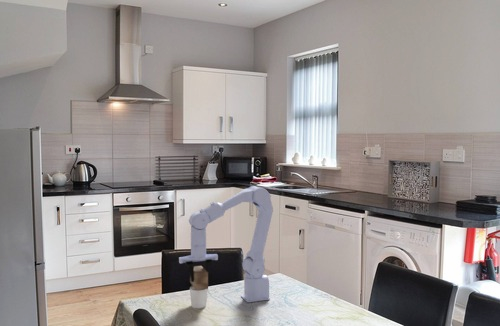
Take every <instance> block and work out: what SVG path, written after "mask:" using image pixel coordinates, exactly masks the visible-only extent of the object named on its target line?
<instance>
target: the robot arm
mask: <svg viewBox="0 0 500 326" xmlns="http://www.w3.org/2000/svg"><path fill="white" fill-rule="evenodd" d="M271 197H272V195H271V194H270V192H268V190H267V189H266V188H264V187H259V186H256V185H251V186H249V187H248V188H243V189H242V190H241V191H240V192H238V193H235V195H232V196H231V197H229V198H227V199H226V200H224V201H223V202H218V201H217V202H211V203H210V205H209V206H208V205H207V206H206V207H205V208H200V209H199V211H195V212H193V213H191V215H190V216H189V219H188V223H189V224H190V255H186V256H180V257H178V263H179V264H180V265H181V264H185V266H186V268H187V272H188V274H189V280H190V279H191V282H194V275H193V272H194V266H195V265H194V262H195V263H196V262H203V268H204V269H205V270H206V271H207V272H208V274H209V273H210V270H211V268H212V266H213V261H218V260H219V255H218V254H217V253H207V226H208V224H210V223H212V222H214V221H216V220H218V219H219V218H221V217H224V215H225V212H226V211H227V210H229V209H231V208H234V207H236V206H238V205H241V204H242V203H252V204H254V206H255V208H256V209H257V210H258V215H257V219H256V222H255V228H254V231H253V237H252V241H251V245H250V250H248V252H247V253H246V256H245V257H244V259H243V261H242V264H241V265H242V268H243V270H244V274H243V275H244V276H243V280H244V283H243V285H244V287H243V288H244V290H243V291H244V293H243V294H241V295H240V297H241V298H242V299H243V300H244V301H245V302H246V303H253V302H261V301H262V302H263V301H268V300H269V301H270V280H269V277H268V275H267V274H265V272H266V268H265V262H266V261H265V255H264V251H265V247H266V243H267V239H268V235H269V234H268V233H269V229H270V226H271V221H272V217H273V212H274V208H273V204H272V201H271Z"/></svg>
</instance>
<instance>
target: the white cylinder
mask: <svg viewBox="0 0 500 326" xmlns="http://www.w3.org/2000/svg"><path fill="white" fill-rule="evenodd" d="M208 291H209V288H208V289H202V290H196V289H195V288H194V287H193V285H191V286H190V287H189V293H190V304H191V307H192V308H194V309H203V308H206V307H207V303H208Z"/></svg>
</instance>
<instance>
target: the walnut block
mask: <svg viewBox="0 0 500 326" xmlns="http://www.w3.org/2000/svg"><path fill="white" fill-rule="evenodd" d="M193 275H194V282H191V279H190V278H189V283H190V284H191V286H193V287H194V288H195V289H196V290H202V289H208V290H209V273H208V272H207V271H206V270H205V269H204V266H202V265H194V272H193Z"/></svg>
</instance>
